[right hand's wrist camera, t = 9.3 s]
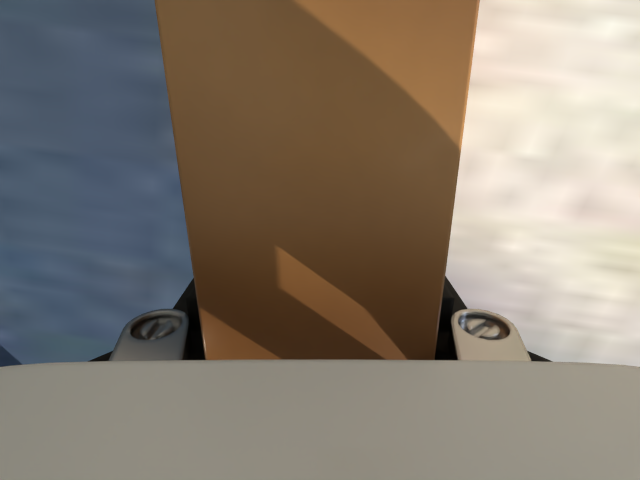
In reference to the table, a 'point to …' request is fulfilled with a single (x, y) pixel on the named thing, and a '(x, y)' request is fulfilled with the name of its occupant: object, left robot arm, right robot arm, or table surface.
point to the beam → (318, 169)
